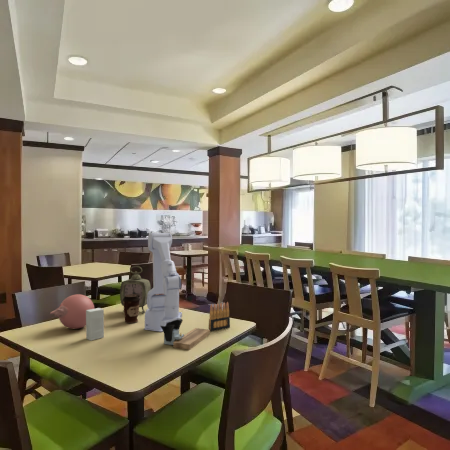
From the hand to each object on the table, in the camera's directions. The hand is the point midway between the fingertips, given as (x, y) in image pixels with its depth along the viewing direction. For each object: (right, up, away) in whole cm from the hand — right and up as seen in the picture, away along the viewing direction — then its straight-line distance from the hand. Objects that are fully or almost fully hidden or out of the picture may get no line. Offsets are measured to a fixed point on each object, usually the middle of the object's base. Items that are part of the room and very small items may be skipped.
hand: (171, 339), depth 142 cm
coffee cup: (-24, -2, +30) cm, 39 cm away
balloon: (-48, -1, +18) cm, 51 cm away
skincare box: (-33, -2, +6) cm, 34 cm away
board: (+8, -2, +3) cm, 9 cm away
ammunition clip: (+19, -2, +20) cm, 27 cm away
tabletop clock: (-27, -1, +49) cm, 56 cm away
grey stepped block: (+1, -1, 0) cm, 2 cm away
